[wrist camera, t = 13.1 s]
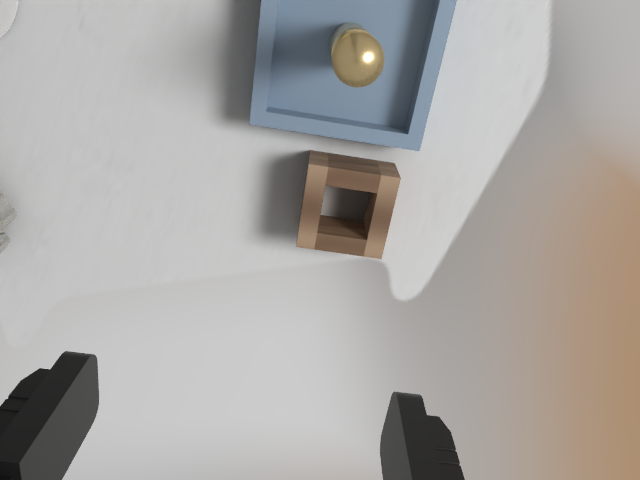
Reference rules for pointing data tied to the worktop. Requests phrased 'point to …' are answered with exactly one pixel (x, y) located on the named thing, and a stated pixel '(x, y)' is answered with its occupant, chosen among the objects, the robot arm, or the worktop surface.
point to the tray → (324, 86)
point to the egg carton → (5, 220)
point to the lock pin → (356, 55)
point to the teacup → (7, 15)
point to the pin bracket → (346, 232)
